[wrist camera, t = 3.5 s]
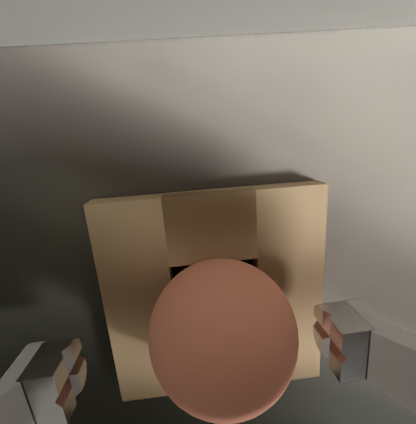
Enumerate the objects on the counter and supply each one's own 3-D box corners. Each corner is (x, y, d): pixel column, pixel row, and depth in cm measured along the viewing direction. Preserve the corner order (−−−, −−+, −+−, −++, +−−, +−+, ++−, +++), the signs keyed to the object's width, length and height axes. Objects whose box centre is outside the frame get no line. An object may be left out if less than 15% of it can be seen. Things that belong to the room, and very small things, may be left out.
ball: (271, 334, 12) (326, 456, 8) (163, 346, 12) (149, 481, 7) (270, 232, 11) (335, 302, 6) (149, 244, 11) (120, 327, 6)
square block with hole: (309, 359, 13) (319, 376, 12) (127, 382, 13) (122, 401, 12) (315, 179, 11) (328, 183, 10) (92, 198, 10) (83, 204, 10)
